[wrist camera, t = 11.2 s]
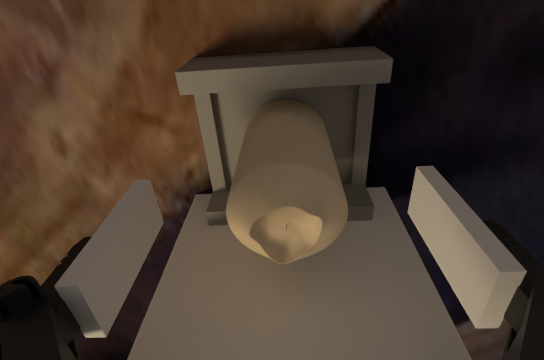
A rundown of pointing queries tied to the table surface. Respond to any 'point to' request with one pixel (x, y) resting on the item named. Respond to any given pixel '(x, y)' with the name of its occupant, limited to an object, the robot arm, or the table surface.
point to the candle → (286, 185)
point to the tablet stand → (306, 271)
